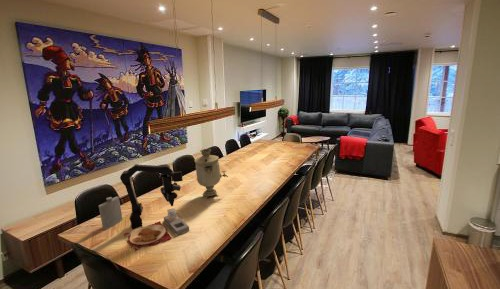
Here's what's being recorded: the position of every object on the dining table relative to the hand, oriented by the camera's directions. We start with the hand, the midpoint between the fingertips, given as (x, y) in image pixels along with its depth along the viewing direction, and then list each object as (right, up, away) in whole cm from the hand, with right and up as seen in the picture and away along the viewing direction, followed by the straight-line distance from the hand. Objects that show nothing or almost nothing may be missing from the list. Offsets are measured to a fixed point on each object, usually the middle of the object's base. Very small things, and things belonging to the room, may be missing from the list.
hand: (170, 203), depth 185 cm
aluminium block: (+2, -10, -1) cm, 10 cm away
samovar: (+25, -2, +41) cm, 48 cm away
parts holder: (+6, -14, -5) cm, 16 cm away
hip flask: (-40, -15, +1) cm, 43 cm away
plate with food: (-9, -18, -17) cm, 26 cm away
